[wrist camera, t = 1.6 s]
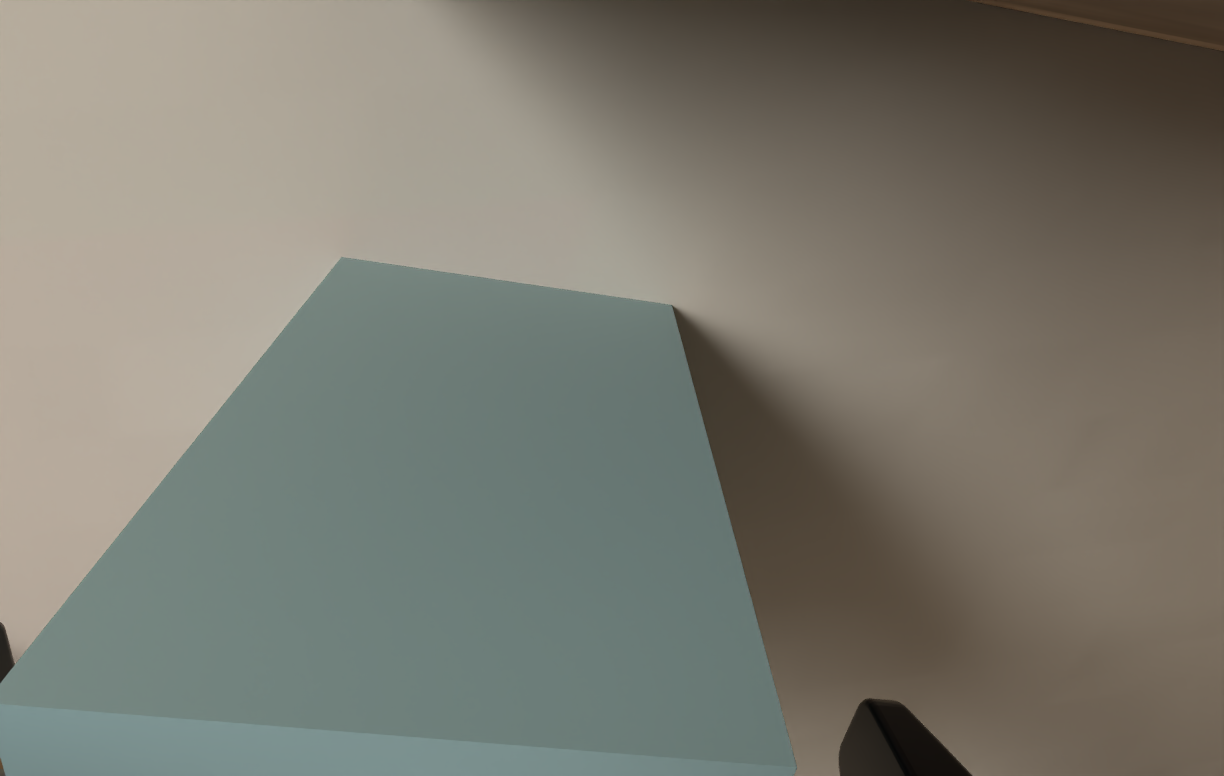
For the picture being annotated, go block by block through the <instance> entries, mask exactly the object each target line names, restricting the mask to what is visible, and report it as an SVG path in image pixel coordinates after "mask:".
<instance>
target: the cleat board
mask: <svg viewBox="0 0 1224 776" xmlns="http://www.w3.org/2000/svg"><path fill="white" fill-rule="evenodd" d="M967 1H973V2H978V3H983V4H988V5H993V6H998V7H1003V8H1008V9H1013V10H1018V11H1023V12H1028V13H1033V14H1038V15H1043V16H1048V17H1053V18H1059V19H1064V20H1069V21H1074V22H1079V23H1084V24H1089V25H1094V26H1099V27H1104V28H1109V29H1114V30H1119V31H1124V32H1129V33H1134V34H1139V35H1145V36H1150V37H1155V38H1160V39H1165V40H1170V41H1175V42H1180V43H1185V44H1190V45H1195V46H1200V47H1205V48H1210V49H1215V50H1220V51H1224V0H967Z"/></svg>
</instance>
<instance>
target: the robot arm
mask: <svg viewBox="0 0 1224 776" xmlns="http://www.w3.org/2000/svg"><path fill="white" fill-rule="evenodd" d="M14 665H15V664H14V660H13V656H12V652H11V649H10V645H9V641H8V637H7V633H6V629H5V627H4V625H3V624H2V623H1V622H0V683H1V682H2V680H3V679H4V678H5V677H6V675H7V674H8V673H9V672H10V670H11V669H12V668H13V667H14ZM839 770H840V776H972V775H971V773H970V772H969V771H968V770H967V769H966V768H965V767H964V766H963V765H962V764H961V763H960V762H959V761H958V760H957V759H956V758H955V757H954V756H953V755H952V754H951V753H950V752H949V751H948V750H947V749H946V748H945V747H944V746H943V745H942V744H941V743H940V742H939V740H938V739H937V738H936V737H935V736H934V735H933V734H932V733H931V732H930V731H929V730H928V729H927V728H926V727H925V726H924V725H923V724H922V723H921V722H920V721H919V720H918V719H917V718H916V717H915V716H914V715H913V714H912V713H911V712H910V711H909V710H908V709H907V708H906V707H905V706H904V705H903V704H901V703H899V702H897V701H892V700H881V699H870V698H869V699H865V700H863V701H862V702H861V703H860V704H859V706H858V708H857V710H856V712H855V715H854V717H853V719H852V721H851V723H850V726H849V728H848V730H847V732H846V734H845V737H844V739H843V741H842V743H841V746H840V751H839Z"/></svg>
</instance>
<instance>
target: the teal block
mask: <svg viewBox="0 0 1224 776" xmlns="http://www.w3.org/2000/svg"><path fill="white" fill-rule="evenodd" d="M0 758H1V762H2V765H3V769H4V772H5V775H6V776H794V774H795V771H796V769H797V766H796V762H795V758H794V755H793V751H792V747H791V743H790V740H789V736H788V732H787V729H786V725H785V721H784V718H783V714H782V710H781V706H780V703H779V699H778V695H777V692H776V688H775V684H774V681H773V677H772V673H771V670H770V666H769V662H768V658H767V655H766V651H765V647H764V644H763V640H762V636H761V633H760V629H759V625H758V622H757V618H756V614H755V610H754V607H753V603H752V599H751V596H750V592H749V588H748V585H747V581H746V577H745V574H744V570H743V566H742V562H741V559H740V555H739V551H738V548H737V544H736V540H735V537H734V533H733V529H732V526H731V522H730V518H729V514H728V511H727V507H726V503H725V500H724V496H723V492H722V489H721V485H720V481H719V478H718V474H717V470H716V466H715V463H714V459H713V455H712V452H711V448H710V444H709V441H708V437H707V433H706V429H705V426H704V422H703V418H702V415H701V411H700V407H699V404H698V400H697V396H696V393H695V389H694V385H693V381H692V378H691V374H690V370H689V367H688V363H687V359H686V356H685V352H684V348H683V345H682V341H681V337H680V333H679V330H678V326H677V322H676V319H675V315H674V311H673V308H672V305H668V304H661V303H654V302H647V301H640V300H633V299H626V298H619V297H612V296H606V295H599V294H592V293H585V292H578V291H571V290H564V289H557V288H550V287H544V286H537V285H530V284H523V283H516V282H509V281H502V280H495V279H488V278H481V277H475V276H468V275H461V274H454V273H447V272H440V271H433V270H426V269H419V268H413V267H406V266H399V265H392V264H385V263H378V262H371V261H364V260H357V259H350V258H344V257H341V259H340V260H339V261H338V262H337V264H336V265H335V266H334V267H333V269H332V270H331V271H330V272H329V274H328V275H327V276H326V277H325V279H324V280H323V281H322V282H321V284H320V285H319V286H318V287H317V289H316V290H315V291H314V292H313V294H312V295H311V296H310V297H309V299H308V300H307V301H306V302H305V304H304V305H303V306H302V307H301V309H300V310H299V311H298V312H297V314H296V315H295V316H294V317H293V318H292V320H291V321H290V322H289V323H288V325H287V326H286V327H285V328H284V330H283V331H282V332H281V333H280V335H279V336H278V337H277V338H276V340H275V341H274V342H273V343H272V345H271V346H270V347H269V348H268V350H267V351H266V352H265V353H264V355H263V356H262V357H261V358H260V360H259V361H258V362H257V363H256V365H255V366H254V367H253V368H252V370H251V371H250V372H249V373H248V375H247V376H246V377H245V378H244V380H243V381H242V382H241V383H240V385H239V386H238V387H237V388H236V390H235V391H234V392H233V393H232V395H231V396H230V397H229V398H228V400H227V401H226V402H225V403H224V405H223V406H222V407H221V408H220V410H219V411H218V412H217V413H216V415H215V416H214V417H213V418H212V420H211V421H210V422H209V423H208V425H207V426H206V427H205V428H204V430H203V431H202V432H201V433H200V435H199V436H198V437H197V438H196V440H195V441H194V442H193V443H192V444H191V446H190V447H189V448H188V449H187V451H186V452H185V453H184V454H183V456H182V457H181V458H180V459H179V461H178V462H177V463H176V464H175V466H174V467H173V468H172V469H171V471H170V472H169V473H168V474H167V476H166V477H165V478H164V479H163V481H162V482H161V483H160V484H159V486H158V487H157V488H156V489H155V491H154V492H153V493H152V494H151V496H150V497H149V498H148V499H147V501H146V502H145V503H144V504H143V506H142V507H141V508H140V509H139V511H138V512H137V513H136V514H135V516H134V517H133V518H132V519H131V521H130V522H129V523H128V524H127V526H126V527H125V528H124V529H123V531H122V532H121V533H120V534H119V536H118V537H117V538H116V539H115V541H114V542H113V543H112V544H111V546H110V547H109V548H108V549H107V551H106V552H105V553H104V554H103V556H102V557H101V558H100V559H99V561H98V562H97V563H96V564H95V566H94V567H93V568H92V569H91V571H90V572H89V573H88V574H87V575H86V577H85V578H84V579H83V580H82V582H81V583H80V584H79V585H78V587H77V588H76V589H75V590H74V592H73V593H72V594H71V595H70V597H69V598H68V599H67V600H66V602H65V603H64V604H63V605H62V607H61V608H60V609H59V610H58V612H57V613H56V614H55V615H54V617H53V618H52V619H51V620H50V622H49V623H48V624H47V625H46V627H45V628H44V629H43V630H42V632H41V633H40V634H39V635H38V637H37V638H36V639H35V640H34V642H33V643H32V644H31V645H30V647H29V648H28V649H27V650H26V652H25V653H24V654H23V655H22V657H21V658H20V659H19V660H18V662H17V663H16V664H15V665H14V667H13V668H12V669H11V670H10V672H9V673H8V674H7V675H6V677H5V678H4V679H3V680H2V682H1V683H0Z"/></svg>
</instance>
